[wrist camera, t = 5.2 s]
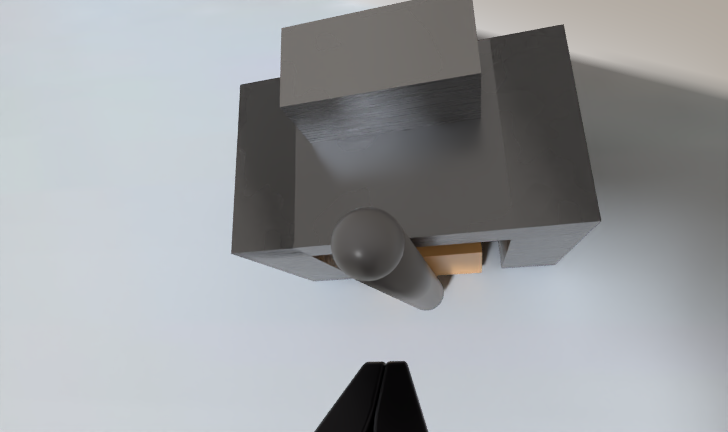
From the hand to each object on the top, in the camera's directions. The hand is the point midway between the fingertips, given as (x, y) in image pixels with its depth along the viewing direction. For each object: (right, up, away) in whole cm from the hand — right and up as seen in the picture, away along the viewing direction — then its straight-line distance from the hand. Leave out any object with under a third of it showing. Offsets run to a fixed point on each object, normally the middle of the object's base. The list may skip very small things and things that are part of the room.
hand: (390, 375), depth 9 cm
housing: (+2, +3, +10) cm, 11 cm away
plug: (+2, +3, +10) cm, 11 cm away
